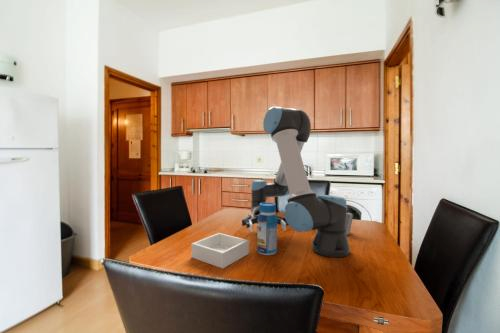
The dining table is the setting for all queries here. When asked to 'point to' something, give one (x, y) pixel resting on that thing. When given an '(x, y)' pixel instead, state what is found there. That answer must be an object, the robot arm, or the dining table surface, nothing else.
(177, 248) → the dining table surface
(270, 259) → the dining table surface
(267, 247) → the beverage bottle
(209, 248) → the box
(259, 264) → the dining table surface
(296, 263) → the dining table surface
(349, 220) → the digital clock
